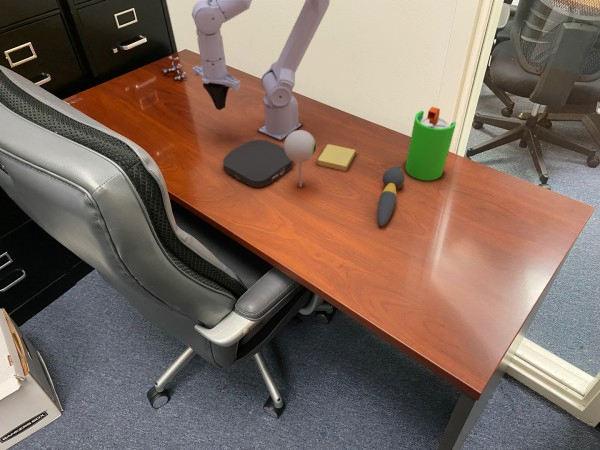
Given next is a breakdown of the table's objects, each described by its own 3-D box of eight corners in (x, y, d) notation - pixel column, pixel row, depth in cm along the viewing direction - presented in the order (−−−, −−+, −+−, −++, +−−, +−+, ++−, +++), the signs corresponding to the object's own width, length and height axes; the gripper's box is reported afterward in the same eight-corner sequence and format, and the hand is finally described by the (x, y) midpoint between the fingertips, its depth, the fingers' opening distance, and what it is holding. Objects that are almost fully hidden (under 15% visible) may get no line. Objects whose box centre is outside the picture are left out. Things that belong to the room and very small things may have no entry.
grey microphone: (397, 232, 94) (401, 215, 91) (374, 229, 95) (377, 212, 92) (403, 176, 108) (406, 159, 105) (383, 173, 109) (385, 157, 106)
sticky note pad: (327, 148, 117) (327, 143, 116) (355, 154, 115) (355, 149, 114) (317, 164, 112) (317, 159, 111) (345, 171, 110) (346, 166, 109)
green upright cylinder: (445, 166, 111) (462, 101, 98) (438, 184, 106) (455, 118, 93) (409, 157, 114) (422, 93, 101) (401, 175, 109) (413, 109, 96)
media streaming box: (257, 143, 119) (257, 133, 117) (299, 163, 112) (299, 154, 110) (217, 169, 111) (216, 159, 109) (259, 192, 104) (258, 183, 102)
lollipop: (312, 197, 103) (312, 143, 92) (282, 193, 104) (279, 140, 94) (317, 178, 108) (318, 125, 97) (289, 175, 109) (287, 122, 98)
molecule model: (180, 73, 154) (164, 52, 149) (194, 72, 145) (178, 50, 140) (167, 84, 152) (151, 64, 148) (180, 84, 143) (164, 62, 139)
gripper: (179, 54, 106) (190, 105, 115) (222, 70, 99) (230, 123, 109) (200, 45, 110) (209, 95, 119) (243, 59, 103) (249, 111, 113)
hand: (220, 107), depth 114 cm, fingers closed
